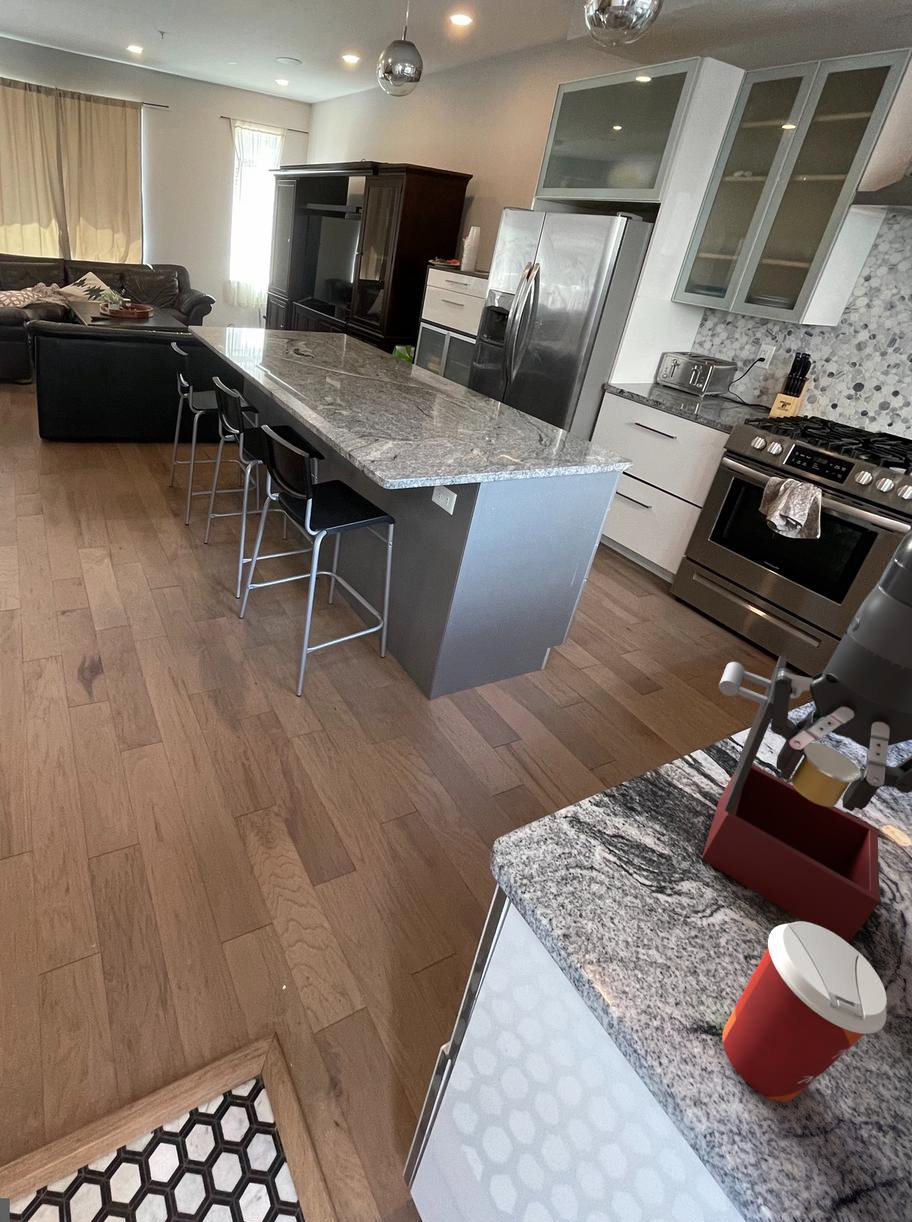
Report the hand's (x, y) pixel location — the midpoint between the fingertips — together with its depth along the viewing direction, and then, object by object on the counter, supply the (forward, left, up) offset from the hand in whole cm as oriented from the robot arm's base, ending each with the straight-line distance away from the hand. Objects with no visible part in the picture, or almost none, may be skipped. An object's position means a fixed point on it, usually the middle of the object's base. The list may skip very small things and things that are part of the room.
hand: (814, 788), depth 61 cm
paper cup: (-3, +17, -17) cm, 24 cm away
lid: (+5, -7, -1) cm, 9 cm away
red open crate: (-2, -7, -17) cm, 18 cm away
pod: (0, 0, 0) cm, 0 cm away
